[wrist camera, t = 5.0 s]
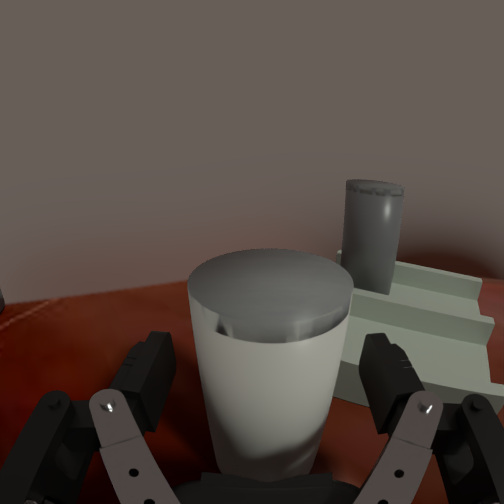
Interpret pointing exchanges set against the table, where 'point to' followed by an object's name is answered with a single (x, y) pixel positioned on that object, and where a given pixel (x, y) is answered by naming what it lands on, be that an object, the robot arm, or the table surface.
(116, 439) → the robot arm
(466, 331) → the divided tray
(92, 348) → the table surface
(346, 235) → the grey cylinder
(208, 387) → the white cylinder
